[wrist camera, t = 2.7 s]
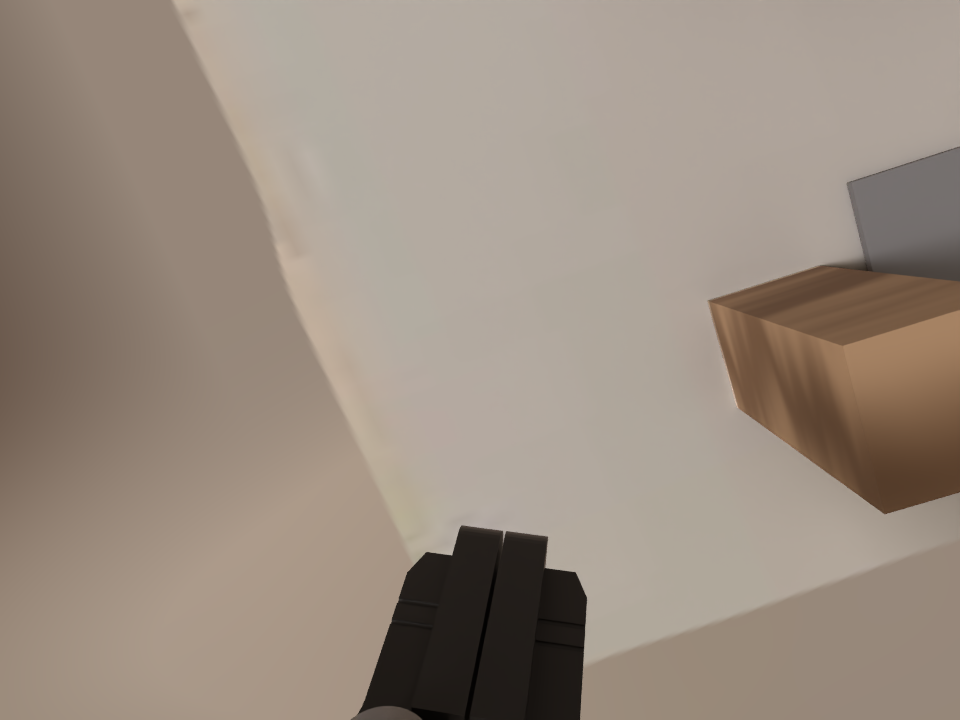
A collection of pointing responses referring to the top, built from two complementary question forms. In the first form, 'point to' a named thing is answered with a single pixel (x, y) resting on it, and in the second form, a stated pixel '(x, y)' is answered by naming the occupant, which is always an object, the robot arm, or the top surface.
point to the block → (853, 376)
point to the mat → (911, 217)
